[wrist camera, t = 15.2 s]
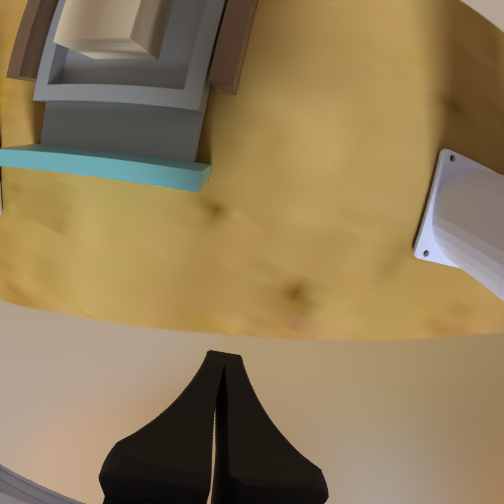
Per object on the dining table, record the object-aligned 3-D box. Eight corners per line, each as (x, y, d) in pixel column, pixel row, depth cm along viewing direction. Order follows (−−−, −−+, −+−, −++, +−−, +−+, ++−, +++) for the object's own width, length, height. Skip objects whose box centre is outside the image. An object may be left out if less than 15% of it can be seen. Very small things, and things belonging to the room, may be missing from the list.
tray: (254, -23, 15) (255, -57, 10) (208, 180, 19) (197, 192, 15) (76, -21, 14) (47, -43, 9) (34, 157, 18) (-4, 165, 14)
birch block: (175, -2, 14) (154, -38, 10) (158, 60, 16) (129, 37, 11) (111, -1, 14) (77, -30, 9) (94, 59, 15) (53, 42, 11)
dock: (267, -33, 14) (271, -64, 11) (235, 95, 18) (232, 83, 14) (75, -32, 13) (51, -52, 9) (40, 82, 16) (6, 77, 13)
